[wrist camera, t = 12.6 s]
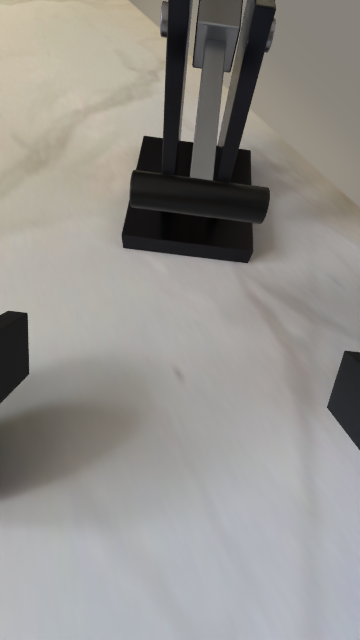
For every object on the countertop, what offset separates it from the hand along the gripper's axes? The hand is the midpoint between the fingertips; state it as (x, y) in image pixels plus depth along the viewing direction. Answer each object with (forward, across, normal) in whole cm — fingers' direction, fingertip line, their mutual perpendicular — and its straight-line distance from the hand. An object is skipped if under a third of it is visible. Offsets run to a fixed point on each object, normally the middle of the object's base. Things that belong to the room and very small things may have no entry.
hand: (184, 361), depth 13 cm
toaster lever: (+8, 0, +11) cm, 13 cm away
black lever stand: (+18, 0, +7) cm, 19 cm away
